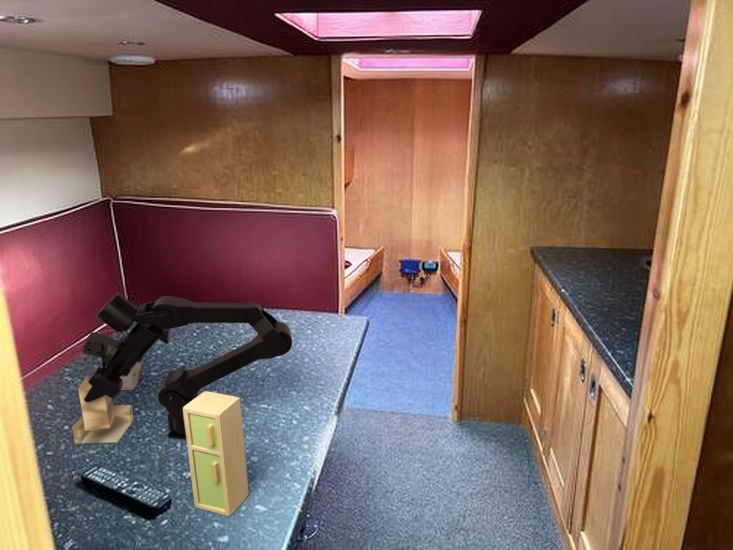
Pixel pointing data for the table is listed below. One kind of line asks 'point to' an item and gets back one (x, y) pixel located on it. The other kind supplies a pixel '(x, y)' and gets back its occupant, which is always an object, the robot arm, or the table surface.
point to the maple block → (95, 409)
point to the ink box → (132, 377)
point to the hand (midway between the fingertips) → (89, 395)
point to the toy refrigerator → (216, 452)
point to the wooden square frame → (108, 434)
